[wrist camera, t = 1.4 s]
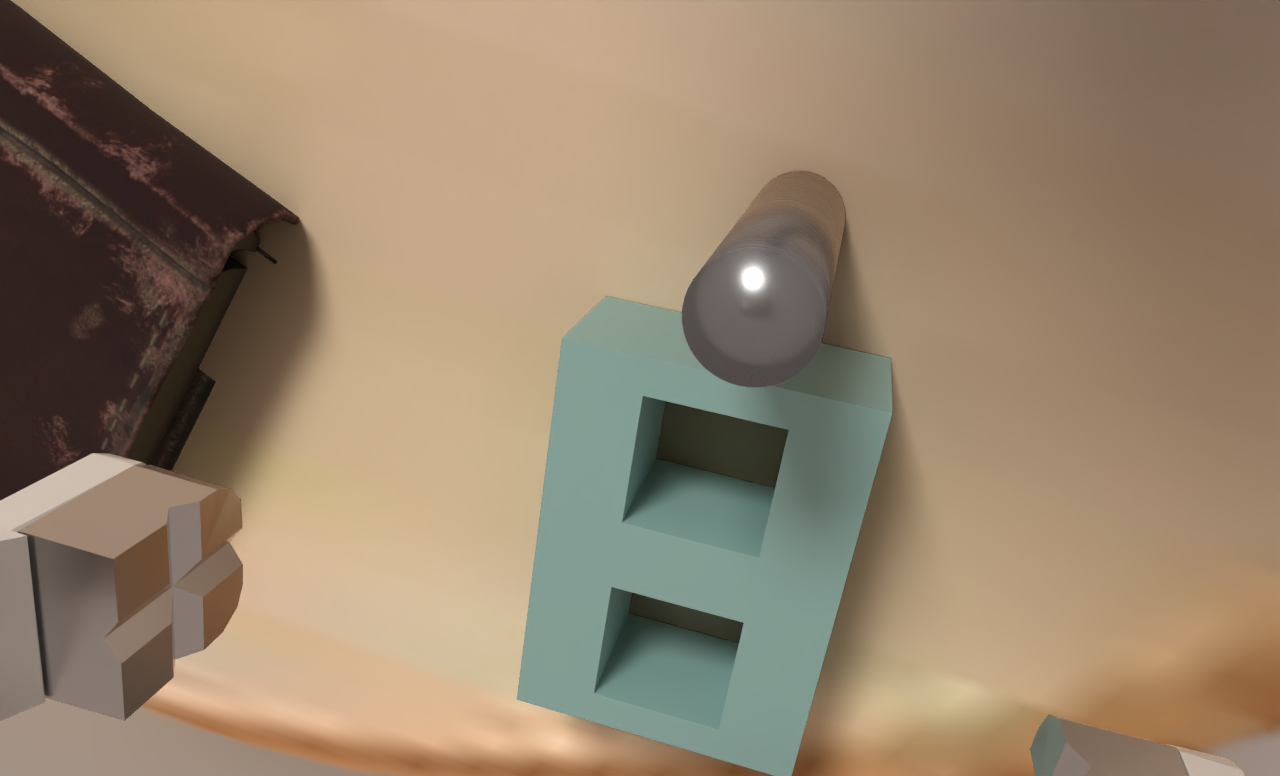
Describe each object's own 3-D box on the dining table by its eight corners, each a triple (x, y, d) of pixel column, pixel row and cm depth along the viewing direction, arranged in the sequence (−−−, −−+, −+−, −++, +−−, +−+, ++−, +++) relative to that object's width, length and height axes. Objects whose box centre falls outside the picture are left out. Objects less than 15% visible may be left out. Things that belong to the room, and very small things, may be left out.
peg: (762, 163, 30) (694, 236, 19) (855, 180, 30) (839, 266, 19) (744, 252, 31) (671, 370, 21) (833, 271, 31) (807, 401, 20)
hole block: (605, 296, 33) (562, 338, 29) (891, 358, 31) (892, 413, 27) (560, 620, 38) (516, 699, 34) (801, 688, 37) (790, 780, 32)
